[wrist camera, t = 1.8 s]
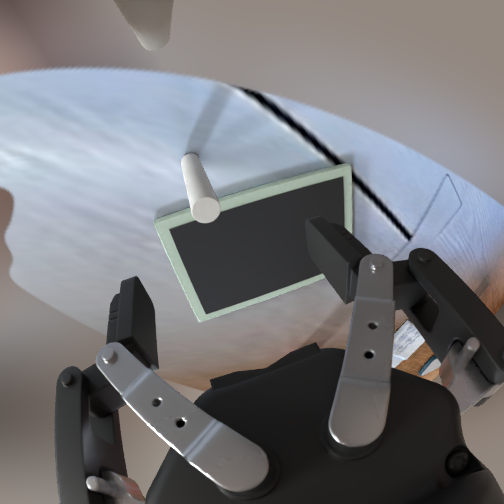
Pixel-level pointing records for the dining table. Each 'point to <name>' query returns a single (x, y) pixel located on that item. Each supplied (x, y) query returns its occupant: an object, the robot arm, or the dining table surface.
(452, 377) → the robot arm
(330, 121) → the dining table surface
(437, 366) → the external hard drive
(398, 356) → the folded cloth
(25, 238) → the dining table surface
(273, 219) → the tablet
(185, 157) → the stylus
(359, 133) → the dining table surface
